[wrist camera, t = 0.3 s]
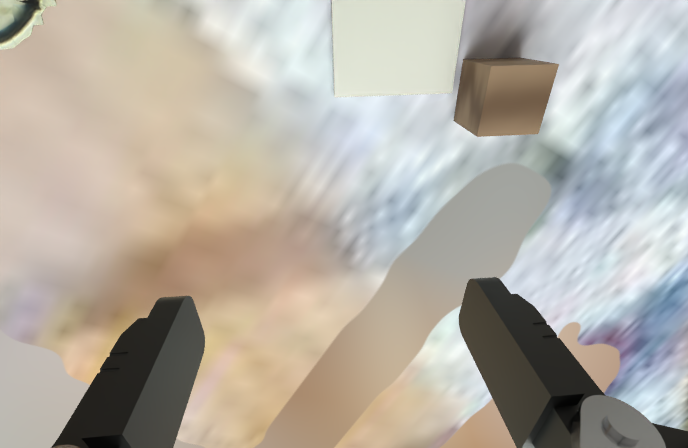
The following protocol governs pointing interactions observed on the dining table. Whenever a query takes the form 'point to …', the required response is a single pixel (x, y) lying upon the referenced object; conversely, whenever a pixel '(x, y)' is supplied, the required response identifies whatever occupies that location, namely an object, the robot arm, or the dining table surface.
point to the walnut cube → (503, 95)
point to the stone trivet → (395, 46)
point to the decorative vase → (20, 19)
